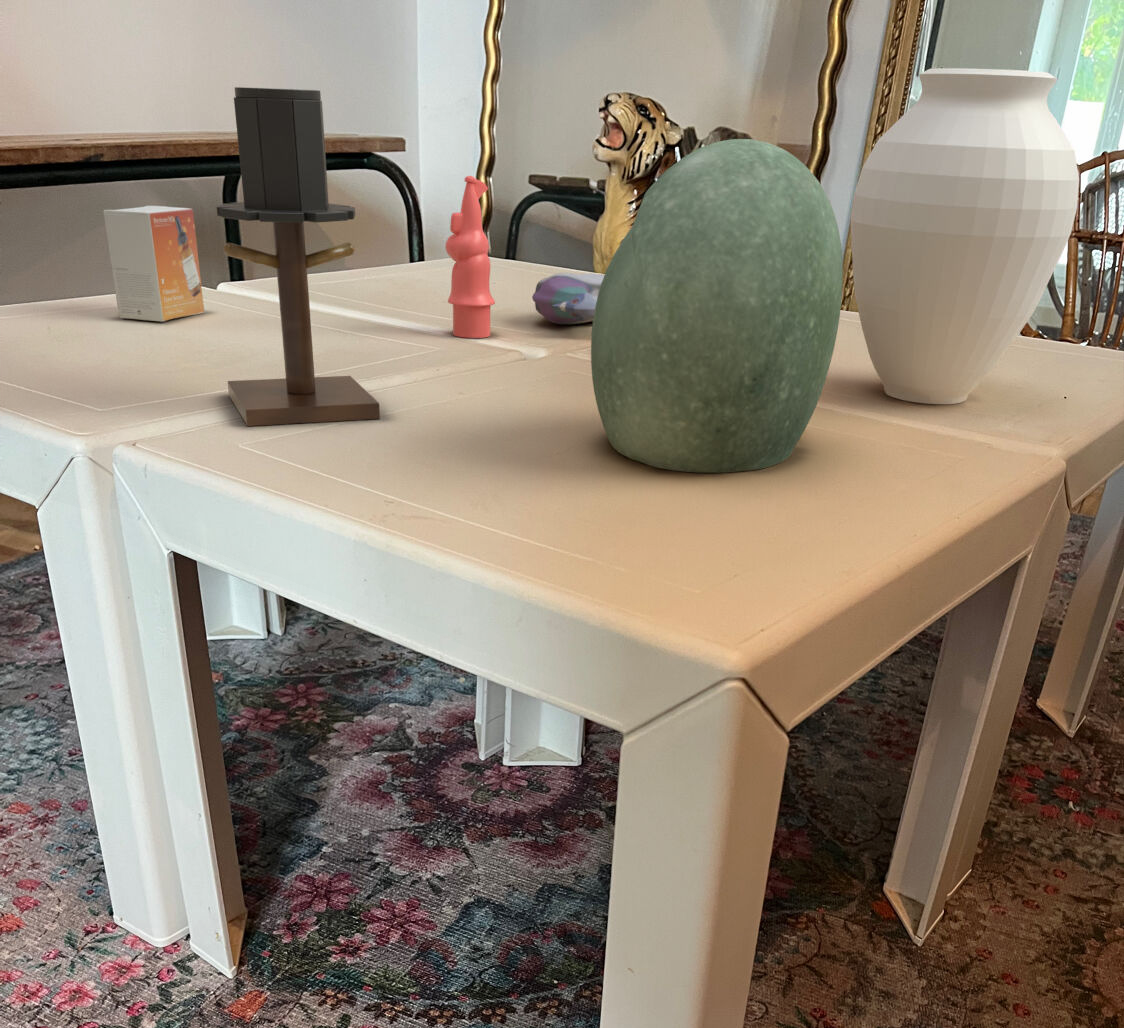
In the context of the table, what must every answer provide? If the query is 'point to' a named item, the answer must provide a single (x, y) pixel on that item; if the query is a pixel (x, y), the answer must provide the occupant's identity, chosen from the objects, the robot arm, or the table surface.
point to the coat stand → (297, 345)
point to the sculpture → (719, 312)
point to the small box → (154, 262)
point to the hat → (282, 158)
